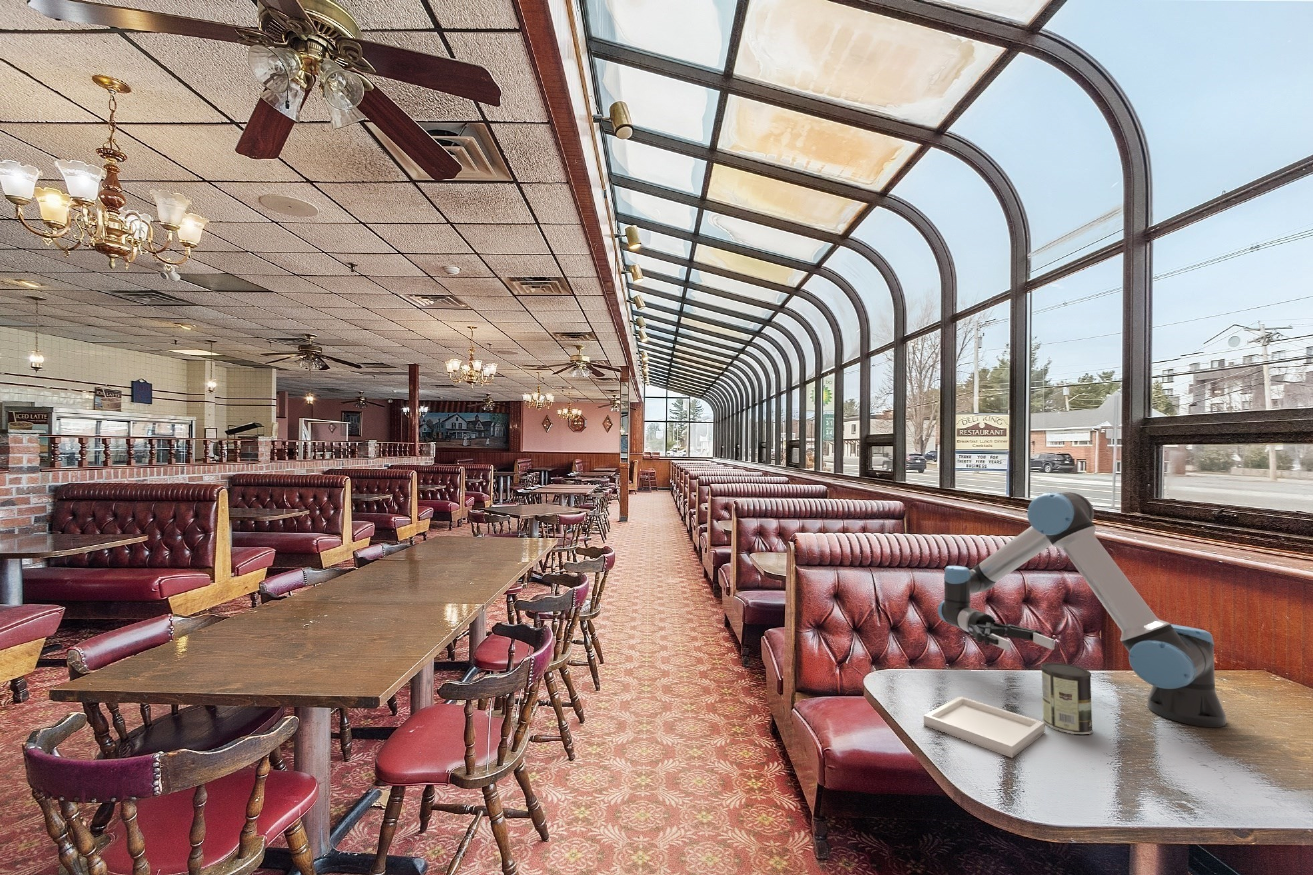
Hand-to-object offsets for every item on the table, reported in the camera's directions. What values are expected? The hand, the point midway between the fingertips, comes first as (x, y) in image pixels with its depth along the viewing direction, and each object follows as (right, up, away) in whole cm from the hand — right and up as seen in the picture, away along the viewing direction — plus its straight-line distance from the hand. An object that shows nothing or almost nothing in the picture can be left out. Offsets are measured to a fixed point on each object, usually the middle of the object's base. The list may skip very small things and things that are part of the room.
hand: (1031, 645), depth 157 cm
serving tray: (-22, -15, -16) cm, 31 cm away
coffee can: (0, -15, -14) cm, 21 cm away
